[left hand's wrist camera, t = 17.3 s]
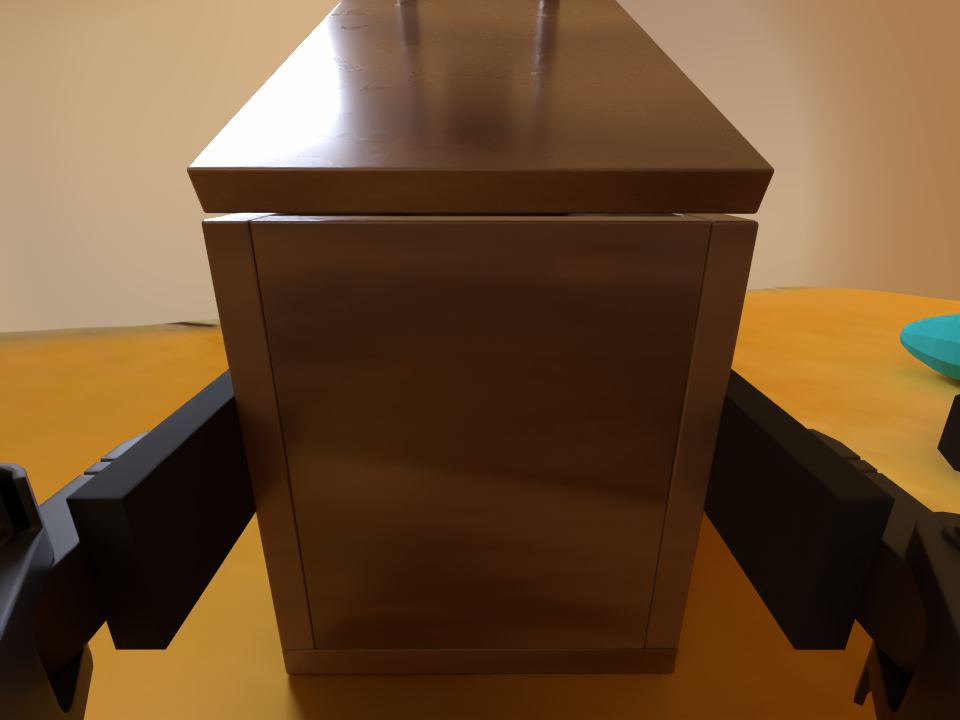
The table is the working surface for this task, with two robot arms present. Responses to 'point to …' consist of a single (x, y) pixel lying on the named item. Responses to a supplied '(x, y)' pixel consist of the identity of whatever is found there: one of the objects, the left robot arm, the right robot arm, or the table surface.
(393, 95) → the lid
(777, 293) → the table surface
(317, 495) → the chest
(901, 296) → the table surface
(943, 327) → the toy gun
